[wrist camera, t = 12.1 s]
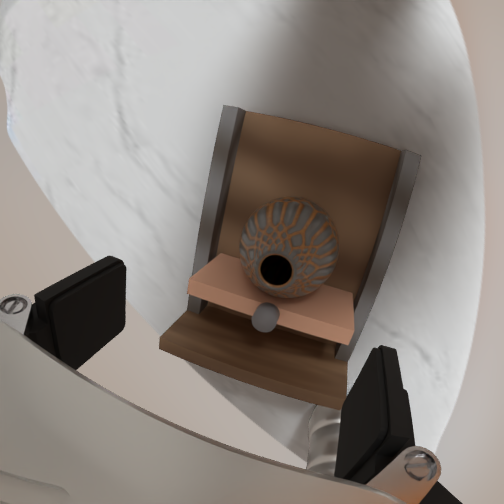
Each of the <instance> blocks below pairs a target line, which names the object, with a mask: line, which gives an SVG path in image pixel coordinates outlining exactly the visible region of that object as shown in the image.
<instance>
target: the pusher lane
mask: <svg viewBox="0 0 504 504" xmlns="http://www.w3.org/2000/svg"><path fill="white" fill-rule="evenodd" d="M420 159H421V155H419V154H416V153H413V152H410V151H408V150H403V151H400V150H397V149H394V148H391V147H388V146H385V145H382V144H379V143H376V142H373V141H369V140H366V139H363V138H359V137H356V136H352V135H349V134H345V133H342V132H338V131H334V130H331V129H327V128H323V127H319V126H315V125H311V124H307V123H302V122H298V121H294V120H289V119H284V118H280V117H275V116H270V115H265V114H259V113H254V112H248V111H245V110H243V109H241V108H238V107H232V106H226V105H223V110H222V114H221V119H220V124H219V128H218V133H217V138H216V143H215V147H214V152H213V157H212V162H211V167H210V173H209V178H208V183H207V188H206V194H205V199H204V205H203V211H202V216H201V222H200V228H199V234H198V240H197V246H196V252H195V259H194V265H193V272H192V276H193V275H194V274H196V273H197V272H198V271H199V270H200V269H202V268H203V267H204V266H205V265H207V264H208V263H209V262H210V261H212V260H213V259H214V258H215V257H216V256H218V255H219V254H220V253H223V254H226V255H229V256H232V257H236V258H239V259H240V252H239V245H240V238H241V234H242V231H243V228H244V226H245V224H246V222H247V220H248V219H249V217H250V216H251V215H252V214H253V212H254V211H256V210H257V209H258V208H259V207H260V206H262V205H263V204H265V203H267V202H269V201H271V200H273V199H276V198H280V197H286V196H296V197H302V198H305V199H308V200H311V201H313V202H315V203H316V204H318V205H319V206H321V207H322V208H323V209H324V210H325V211H326V212H327V213H328V214H329V216H330V217H331V219H332V220H333V222H334V224H335V227H336V229H337V232H338V237H339V255H338V260H337V263H336V266H335V268H334V270H333V272H332V274H331V275H330V277H329V278H328V279H327V280H326V281H325V282H324V283H323V284H324V285H328V286H331V287H334V288H338V289H341V290H344V291H348V292H351V293H353V308H354V333H353V336H352V338H351V340H350V342H349V345H345V344H342V343H338V342H335V341H331V340H328V339H324V338H321V337H318V336H314V335H311V334H308V333H304V332H301V331H298V330H294V329H291V328H288V327H285V326H282V325H278V324H276V326H275V328H274V329H273V330H272V331H270V332H260V331H258V330H257V329H256V328H255V327H254V326H253V324H252V316H251V315H248V314H245V313H242V312H239V311H236V310H233V309H230V308H227V307H224V306H221V305H218V304H215V303H212V302H210V301H207V300H204V299H201V298H198V297H196V296H193V295H190V294H189V300H188V307H187V311H186V312H185V313H184V314H183V315H182V316H181V317H180V318H179V319H178V320H177V321H176V322H175V323H174V324H173V325H172V326H171V327H170V328H169V329H168V330H167V331H166V332H165V333H164V334H163V335H162V336H161V337H160V343H159V349H161V350H163V351H165V352H168V353H170V354H172V355H175V356H177V357H180V358H182V359H184V360H187V361H189V362H192V363H194V364H197V365H199V366H202V367H204V368H207V369H209V370H212V371H215V372H217V373H220V374H223V375H225V376H228V377H231V378H234V379H236V380H239V381H242V382H245V383H248V384H251V385H254V386H257V387H260V388H263V389H266V390H269V391H272V392H275V393H278V394H282V395H285V396H288V397H292V398H295V399H298V400H302V401H305V402H309V403H313V404H316V405H320V406H324V407H328V408H332V409H336V410H341V408H342V406H343V403H344V401H345V399H346V394H347V365H348V360H349V358H350V356H351V354H352V352H353V350H354V347H355V345H356V343H357V341H358V339H359V336H360V334H361V332H362V330H363V327H364V325H365V323H366V320H367V318H368V316H369V313H370V311H371V309H372V306H373V304H374V301H375V299H376V296H377V294H378V291H379V289H380V286H381V284H382V281H383V278H384V276H385V273H386V270H387V268H388V265H389V262H390V259H391V256H392V254H393V251H394V248H395V245H396V242H397V239H398V236H399V233H400V230H401V227H402V223H403V220H404V217H405V214H406V210H407V207H408V204H409V200H410V197H411V193H412V190H413V186H414V182H415V179H416V175H417V171H418V167H419V163H420Z"/></svg>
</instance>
